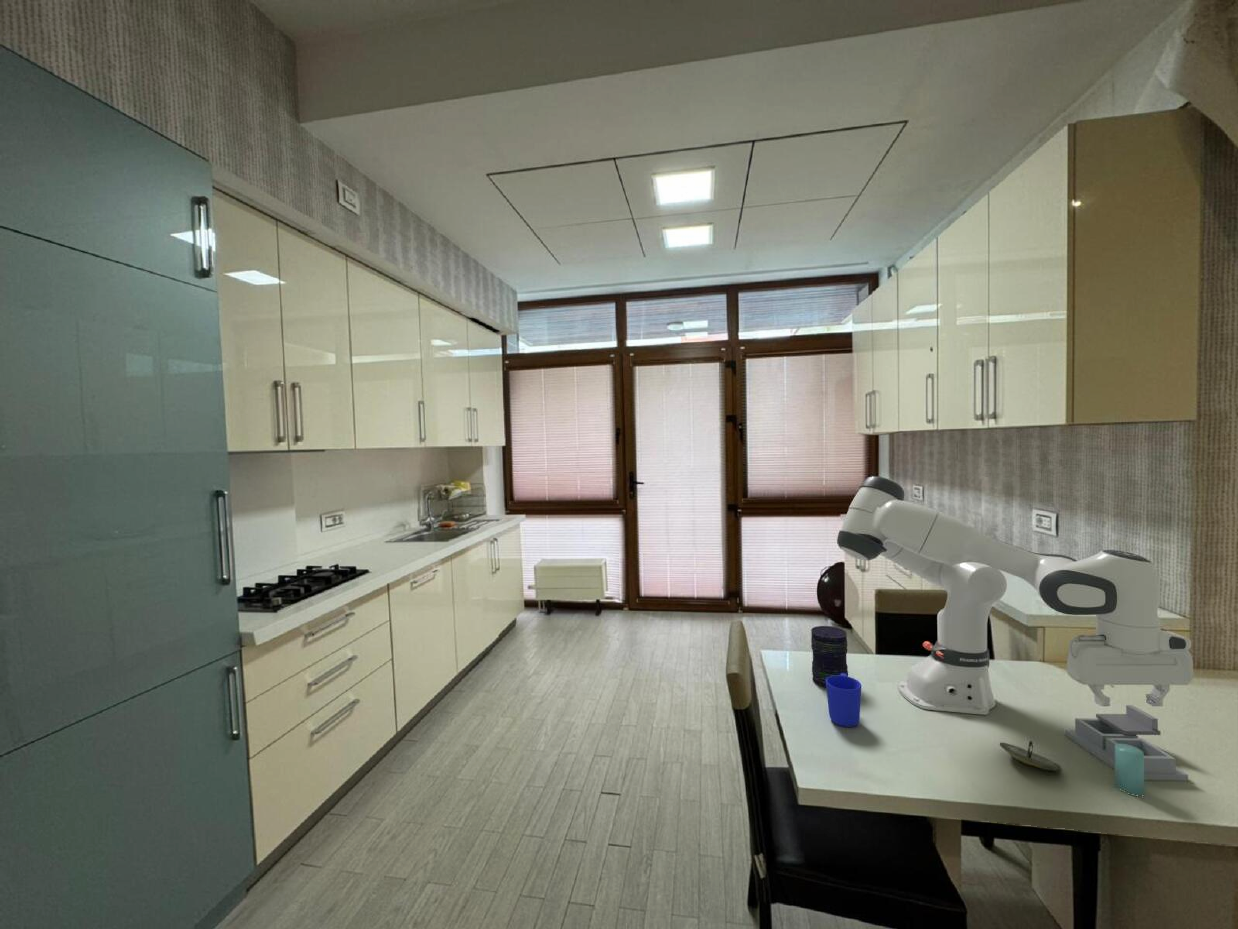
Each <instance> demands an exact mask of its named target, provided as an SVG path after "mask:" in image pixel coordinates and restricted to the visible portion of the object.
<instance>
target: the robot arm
mask: <svg viewBox="0 0 1238 929" xmlns="http://www.w3.org/2000/svg"><path fill="white" fill-rule="evenodd" d="M852 499H853V500H851V503H850V505H849V507H848V510H847V513H846V515H845V517H844V521H843V522H842V525H841V529H840V530H839V531H838V534H837V539H836V544H837V546H838V548H840V549H841V550H842V551H843V553H845V554H847V556H849V557H850V558H853V559H856V560H861V561H871V560H874V559H877V558H878V557H879V556H881V557H883V558H885V559H887V560H889V561H891V562H893V563H895V564H896V565H898V566H901V567H902V568H904V569H906V570H908V571H910V572H911V573H913V574H915V575H916V576H918V577H920V578H922V579H924V580H926V581H927V582H929V583H931V584H932V585H934V586H935V587H939V588H940V589H942V590H944V591H946V594H947V597H946V601H945V602H946V603H945V605H944V608H942V609H940V610H939V612H938V613H937V616H936V617H937V618H936V620H937V622H936V624H937V640H936V641H935V644H934V645H933V643H931V642H930V641H928V640H927V641H924V642H922V646H923V647H924V649H926V650H927V651H931V653H930V655H928V656H927V657H925V658H924V659H922V660H920V661H919V662H917V663H916V664H914V665H911V666H910V668H909V669H908V672H907V673H908V674H907V677H906V681H900V682H898V685H897V689H898V691H899V693H900V694H901V695H902V696H903V697H904V698H905V699H906V700H907V701H908V702H910V703H911V704H913V705H914V706H915V707H918V708H920V709H922V710H928V711H929V710H931V711H940V712H951V713H952V712H953V713H961V714H972V715H985V716H987V715H989V713H990V710H991V709H994V707H995V706H996V705H997V702H996V700H995V697H994V693H993V691H992V690H993V689H992V686H991V681H990V675H989V674H990V672H989V667H990V649H989V648H988V619H989V615H990V613H991V609H992V607H993V605H994V604H995V603H997V601H999V600H1001V599H1002V598H1003V597H1004V596H1005V593H1006V591H1007V589H1008V588H1007V587H1008V586H1007V585H1008V584H1007V579H1006V577H1005V575H1004V574H1003V572H1004V573H1007V574H1010V575H1012V576H1015V577H1018V578H1020V579H1022V580H1024V581H1026V582H1027V583H1028V584H1029V585H1030V586H1032V587H1033V588H1034V589H1035V591H1037V593H1038V595H1039V596H1040V598H1041V600H1042V601H1043V603H1045V604H1046V605H1047V606H1048V607H1049V608H1051V610H1054V611H1055V612H1058V613H1060V614H1063V615H1069V616H1070V615H1071V616H1095V618H1096V619H1095V621H1096V622H1095V625H1096V630H1095V631H1096V633H1095V634H1089V635H1086V634H1080V635H1077V636H1076V637H1074V638H1073V639H1072V640H1070V642H1069V652H1068V655H1067V663H1066V673H1067V675H1068V676H1069V677H1070V678H1071V679H1072V680H1074V681H1076V682H1078V683H1079V684H1082V685H1084V686H1085V685H1087V686H1088V687H1089V689H1090V691H1091V692H1092V693H1093V694H1094V702H1095V704H1096V705H1099V706H1100V707H1110V706H1111V698H1110V697H1109V696H1107V695H1105V694H1104V693H1103V691H1102V690H1105V686H1106V685H1108V686H1109V685H1110V686H1111V685H1113V686H1119V685H1120V686H1121V685H1123V686H1128V685H1129V686H1153V687H1152V689H1151V692H1150V693H1146V694H1145V701H1146V703H1147V704H1148V705H1151V707H1163V706H1164V699H1165V697H1166V695H1167V694H1169V692H1170V690H1171V687H1170V686H1188V685H1189V684H1190V683H1191V682H1192V681H1193V679H1194V661H1193V655H1192V653H1190V651H1189V650H1191V647H1192V641H1191V639H1190V638H1187V637H1186V636H1183V635H1180V634H1177V633H1175V632H1172V631H1169V630H1167V629H1164V628H1162V627H1161V621H1160V620H1161V619H1160V618H1159V615H1158V610H1159V606H1160V603H1161V586H1160V578H1159V574H1158V570H1157V567H1156V565H1155V564H1154V563H1152V561H1151V560H1149V559H1147V557H1144V556H1141V555H1139V554H1135V553H1131V552H1127V551H1122V550H1117V549H1116V550H1115V549H1103V550H1100V551H1099V552H1098V553H1096V554H1094V555H1092V556H1089V557H1086V558H1083V559H1079V560H1077V559H1076V558H1073V557H1071V556H1068V555H1064V554H1058V553H1037V552H1033V551H1031V550H1027V549H1024V548H1020V547H1018V546H1016V545H1014V544H1010V543H1007V542H1004V541H1002V540H998V539H995V538H994V537H991V536H988V535H987V534H985V533H984V532H981V531H980V530H977V529H976V528H974V527H973V526H971V525H970V524H967V523H966V522H964V521H962V520H960V519H958V518H956V517H954V516H951V515H949V514H947V513H945V512H943V511H940V510H938V509H937V510H936V508H935V509H934V508H932V507H928V506H925V505H922V504H918V503H914V502H911V501H906V500H905V491H904V489H903V487H902V486H901V485H900V484H899V483H897V482H896V481H894V480H893V479H890V478H888V477H883V476H878V475H877V476H875V475H873V476H869V477H867V478H866V479H865V480H864V481H862V483H861V485H860V486H859V490H858V492H857V493H855V496H854V498H852Z"/></svg>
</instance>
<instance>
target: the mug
mask: <svg viewBox="0 0 1238 929" xmlns="http://www.w3.org/2000/svg"><path fill="white" fill-rule="evenodd" d="M825 689H826V697H827V699H826V700H827V707H828V714H829V715H828V716H829V718H830V720H831V721H832V722H833V723H834V724H836V725H838V726H840V727H844V728H845V727H846V728H852V727H856V726H857V725H858V724H859V723H860V722H859V721H860V717H861V716H860V715H861V714H860V713H861V699H862V684H861V682H860V681H859V680H858V679H856V678H854V677H851V676H849V675H848V676H847V674H845V673H841V675H834V676H830V677H828V678H827V679H826V688H825Z"/></svg>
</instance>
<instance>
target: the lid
mask: <svg viewBox="0 0 1238 929" xmlns="http://www.w3.org/2000/svg"><path fill="white" fill-rule="evenodd" d="M999 746H1000V747H1001V748H1002V749H1003V750H1004V751H1005V752H1007V753H1008V755H1009V756H1011V757H1012V758H1014V759H1016V760H1017V761H1020V762H1022V763H1023V764H1025V765H1029V766H1033V767H1035V768H1037V769H1038V768H1039V769H1041V770H1045V771H1054V772H1060V773H1061V772H1062V771H1063V769H1062V767H1061V766H1060V765H1059V764H1057V763H1055V762H1053V761H1052V760H1051V759H1048V758H1046V757H1044V756H1041V755H1040V754H1037V753H1034V752H1033V748H1034V744H1033V741H1031V740H1030V741H1029V742H1028V747H1027V750H1026V749H1024V748H1022V747H1019V746H1016V745H1014V744H1010V743H1008V742H1007V743H1006V742H1004V741H1003V742H1002V741H1001V742H999ZM1030 748H1031V749H1030Z"/></svg>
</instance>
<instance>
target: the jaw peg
mask: <svg viewBox="0 0 1238 929" xmlns="http://www.w3.org/2000/svg"><path fill="white" fill-rule="evenodd" d="M1114 776H1115V777H1114V786H1115V785H1116V786H1115V788H1116V787H1118V788H1119V789H1121V790H1123V791H1125V792H1126V793H1129V794H1134V795H1138V796H1137V797H1139V796H1140V797H1143V796H1142V795H1145V780H1144V753H1143V751H1142V750H1140V749H1138V748H1136V747H1134V746H1131V745H1127V744H1120V743H1119V744H1115V770H1114ZM1119 789H1118V790H1119ZM1126 793H1125V794H1126ZM1129 794H1128V795H1129Z"/></svg>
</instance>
